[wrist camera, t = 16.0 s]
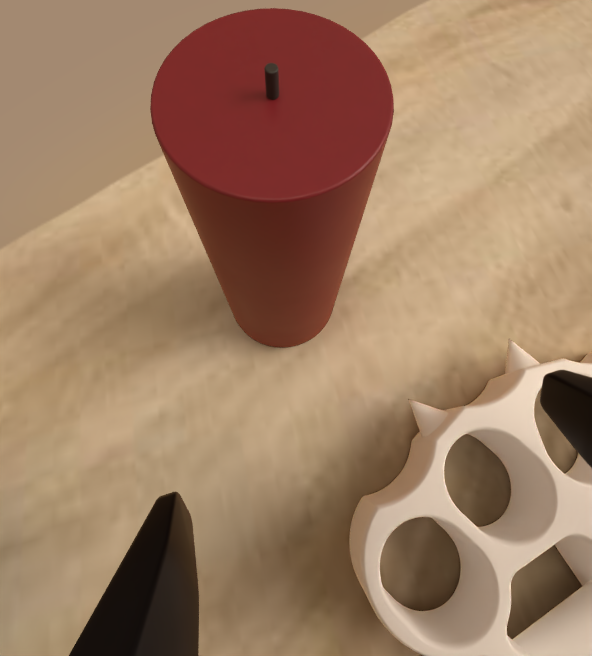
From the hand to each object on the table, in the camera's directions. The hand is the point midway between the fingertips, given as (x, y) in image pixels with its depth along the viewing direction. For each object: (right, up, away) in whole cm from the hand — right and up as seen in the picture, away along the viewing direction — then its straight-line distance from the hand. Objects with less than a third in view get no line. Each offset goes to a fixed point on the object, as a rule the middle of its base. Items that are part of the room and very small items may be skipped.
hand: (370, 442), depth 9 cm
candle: (-2, +4, +12) cm, 13 cm away
